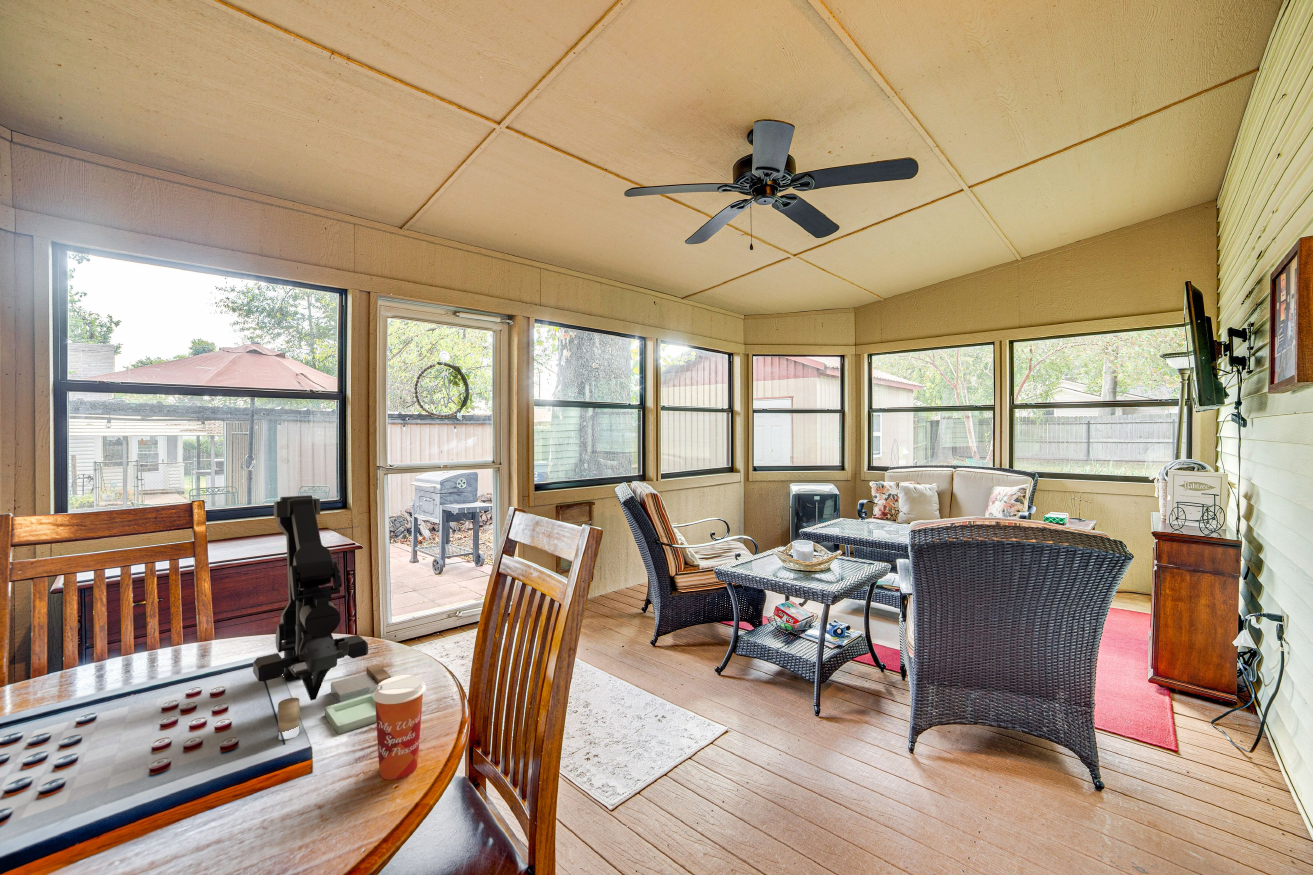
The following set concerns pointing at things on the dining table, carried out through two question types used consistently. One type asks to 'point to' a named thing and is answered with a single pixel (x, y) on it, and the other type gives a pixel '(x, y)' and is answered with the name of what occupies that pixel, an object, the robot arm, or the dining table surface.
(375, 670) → the block
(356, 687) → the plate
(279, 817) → the dining table surface
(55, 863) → the dining table surface
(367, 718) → the tray
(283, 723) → the dowel
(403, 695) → the paper cup
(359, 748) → the dining table surface
